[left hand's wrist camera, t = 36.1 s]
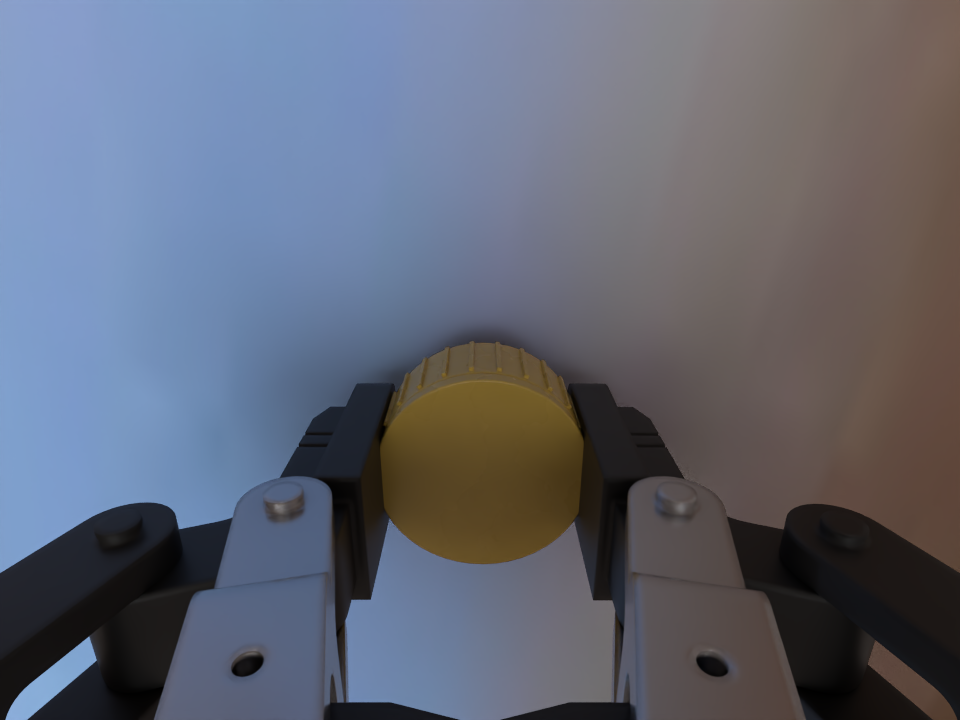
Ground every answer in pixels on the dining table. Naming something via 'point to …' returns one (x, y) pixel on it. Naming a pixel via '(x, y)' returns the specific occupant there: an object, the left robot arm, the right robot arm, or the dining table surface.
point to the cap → (482, 454)
